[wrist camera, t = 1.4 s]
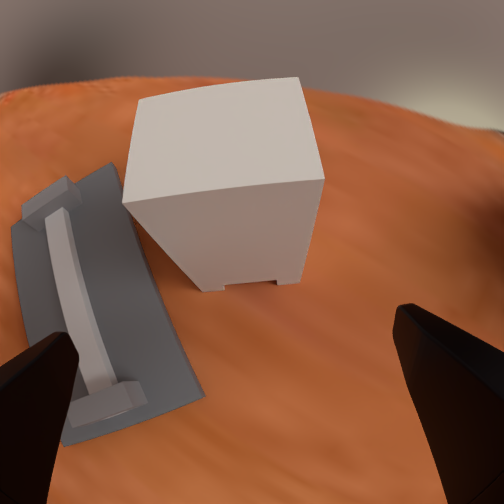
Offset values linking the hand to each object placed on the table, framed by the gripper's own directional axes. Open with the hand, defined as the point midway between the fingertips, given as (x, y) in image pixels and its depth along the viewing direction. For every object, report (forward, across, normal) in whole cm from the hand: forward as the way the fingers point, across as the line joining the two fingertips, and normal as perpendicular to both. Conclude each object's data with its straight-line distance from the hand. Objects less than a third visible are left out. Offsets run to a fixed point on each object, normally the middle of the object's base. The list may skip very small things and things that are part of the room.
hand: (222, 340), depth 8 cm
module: (+14, 0, +4) cm, 15 cm away
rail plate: (+12, +13, +6) cm, 19 cm away
